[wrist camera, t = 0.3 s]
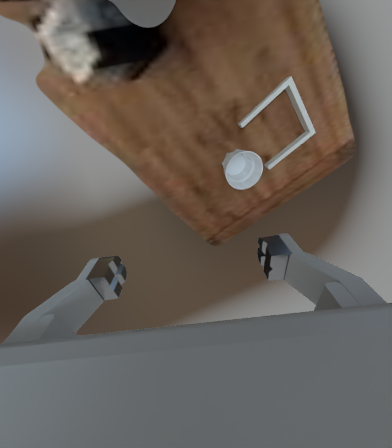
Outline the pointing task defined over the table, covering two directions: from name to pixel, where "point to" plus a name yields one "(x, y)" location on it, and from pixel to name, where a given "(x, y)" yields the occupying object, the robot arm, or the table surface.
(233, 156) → the cup
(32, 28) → the table surface
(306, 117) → the white u-shaped frame
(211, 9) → the table surface
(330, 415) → the robot arm
